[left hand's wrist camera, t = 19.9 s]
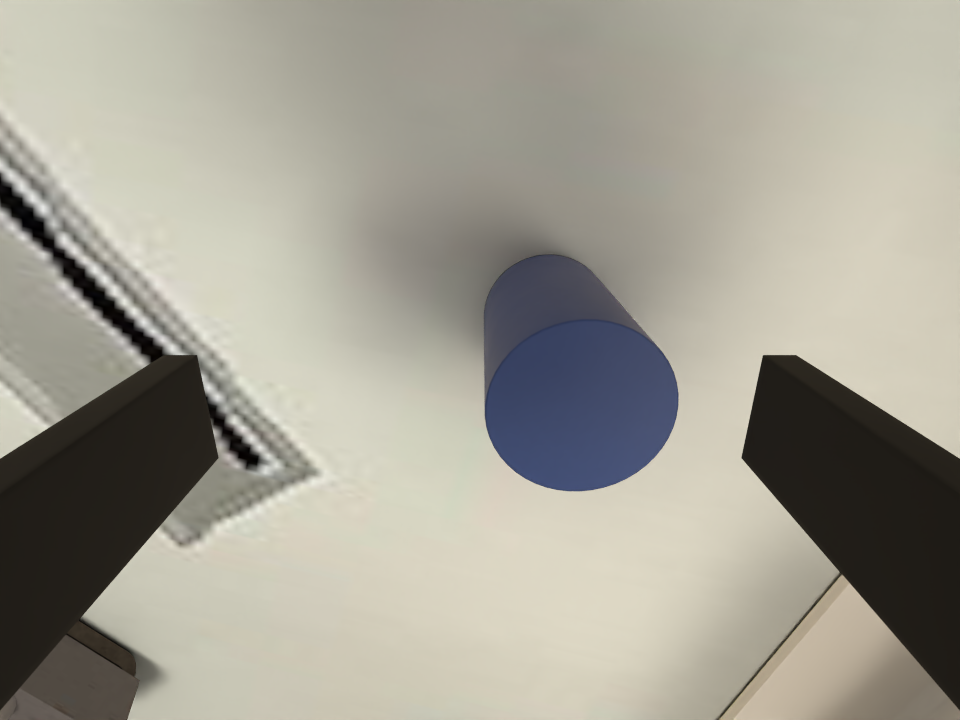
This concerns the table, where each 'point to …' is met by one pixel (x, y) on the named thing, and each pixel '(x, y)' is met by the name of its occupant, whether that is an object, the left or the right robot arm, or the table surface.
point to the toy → (78, 682)
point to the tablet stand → (842, 671)
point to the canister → (571, 378)
